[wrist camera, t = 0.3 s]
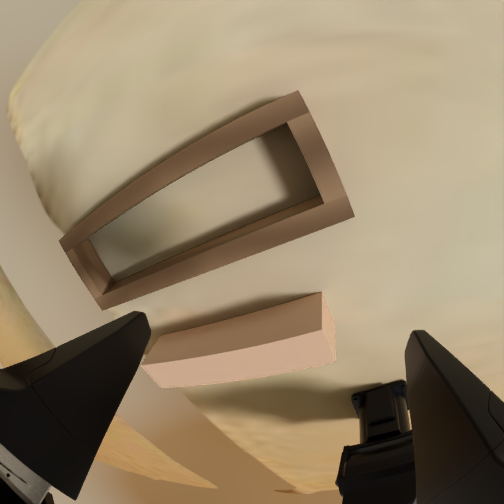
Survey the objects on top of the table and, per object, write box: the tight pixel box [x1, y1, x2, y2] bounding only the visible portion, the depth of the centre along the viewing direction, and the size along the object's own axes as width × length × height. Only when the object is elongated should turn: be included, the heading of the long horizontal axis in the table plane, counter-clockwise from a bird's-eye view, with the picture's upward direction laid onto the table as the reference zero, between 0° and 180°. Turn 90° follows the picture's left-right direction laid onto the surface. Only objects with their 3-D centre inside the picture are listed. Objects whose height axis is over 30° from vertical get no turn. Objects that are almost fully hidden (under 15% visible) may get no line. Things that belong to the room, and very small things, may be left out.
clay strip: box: [141, 292, 336, 388], centre depth 24 cm, size 4×18×5 cm, turn 117°
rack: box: [59, 90, 355, 311], centre depth 21 cm, size 8×25×2 cm, turn 117°
